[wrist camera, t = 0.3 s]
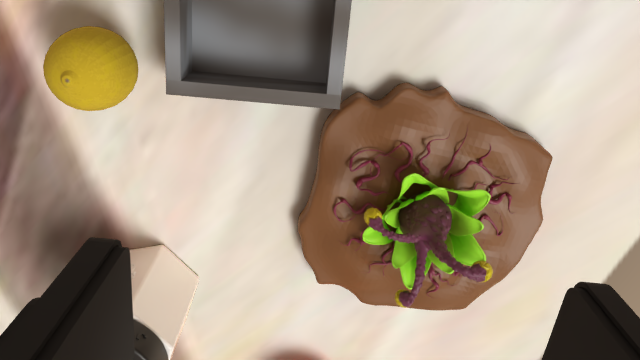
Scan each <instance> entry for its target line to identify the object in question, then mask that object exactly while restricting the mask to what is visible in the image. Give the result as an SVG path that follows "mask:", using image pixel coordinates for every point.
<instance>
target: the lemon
mask: <svg viewBox="0 0 640 360" xmlns="http://www.w3.org/2000/svg"><path fill="white" fill-rule="evenodd" d="M43 68H44V76H45V79H46V83H47V85H48V86H49V88H50V90H51V91H52V93H53V94H54V95H55V96H56V97H57V98H58V99H59V100H60V101H62V102H63V103H65V104H66V105H68V106H71V107H73V108H75V109H80V110H85V111H95V110H104V109H107V108H110V107H113V106H115V105H117V104H118V103H120V102H121V101H123V100H124V99H125V98H126V97H127V96H128V95H129V94H130V92H131V91H132V90H133V88H134V86H135V83H136V81H137V77H138V63H137V59H136V56H135V54H134V51H133V50H132V48H131V47H130V45H129V44H128V43H127V42H126V41H125V40H124V39H123V38H122V37H121V36H119V35H118V34H116V33H114V32H113V31H111V30H108V29H104V28H101V27H91V26H86V27H80V28H75V29H72V30H70V31H68V32H66V33H64V34H63V35H61V36H60V37H59V38H58V39H57V40H56V41H55V42H54V43H53V44H52V45H51V46H50V48H49V50H48V52H47V54H46V55H45V60H44V65H43Z"/></svg>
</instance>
